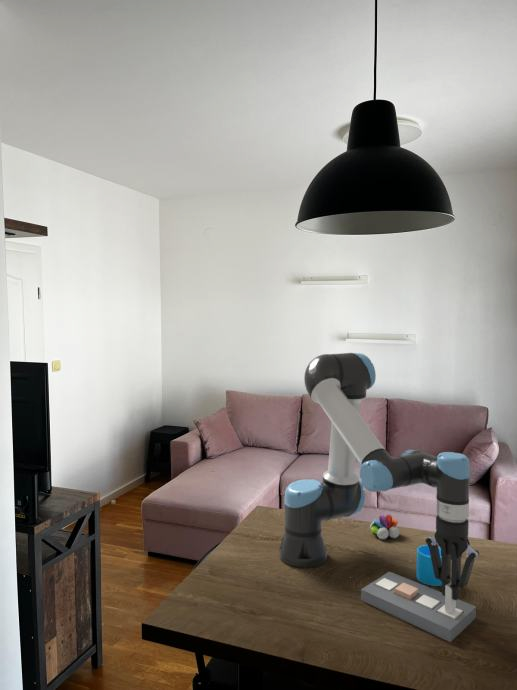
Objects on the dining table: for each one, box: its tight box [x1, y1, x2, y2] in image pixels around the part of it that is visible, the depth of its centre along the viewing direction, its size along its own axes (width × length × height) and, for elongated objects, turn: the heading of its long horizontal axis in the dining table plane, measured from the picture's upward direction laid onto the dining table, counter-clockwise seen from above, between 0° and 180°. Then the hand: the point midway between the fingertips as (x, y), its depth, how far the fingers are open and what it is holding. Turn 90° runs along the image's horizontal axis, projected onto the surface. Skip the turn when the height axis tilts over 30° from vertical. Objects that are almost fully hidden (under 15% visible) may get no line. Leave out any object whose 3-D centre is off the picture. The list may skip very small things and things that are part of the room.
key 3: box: [415, 595, 440, 610], centre depth 134 cm, size 4×4×3 cm
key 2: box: [395, 583, 418, 600], centre depth 138 cm, size 4×4×3 cm
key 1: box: [375, 578, 398, 592], centre depth 142 cm, size 4×4×3 cm
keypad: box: [360, 571, 477, 643], centre depth 136 cm, size 25×14×3 cm, turn 44°
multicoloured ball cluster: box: [369, 514, 400, 540], centre depth 181 cm, size 8×10×7 cm
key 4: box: [437, 605, 463, 620], centre depth 129 cm, size 4×4×3 cm
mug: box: [416, 544, 442, 587], centre depth 153 cm, size 12×8×8 cm
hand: (450, 609), depth 129 cm, fingers closed
